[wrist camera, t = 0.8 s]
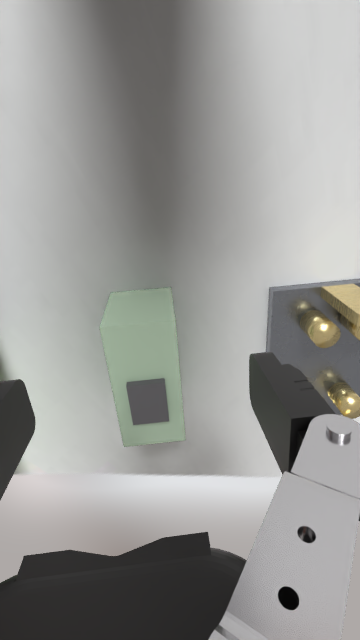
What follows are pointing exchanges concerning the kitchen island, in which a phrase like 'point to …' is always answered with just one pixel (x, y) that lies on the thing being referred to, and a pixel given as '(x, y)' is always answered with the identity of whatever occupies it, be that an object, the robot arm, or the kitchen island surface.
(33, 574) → the robot arm
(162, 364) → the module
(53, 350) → the kitchen island surface
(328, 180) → the kitchen island surface
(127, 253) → the kitchen island surface
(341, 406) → the metal plate
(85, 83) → the kitchen island surface
